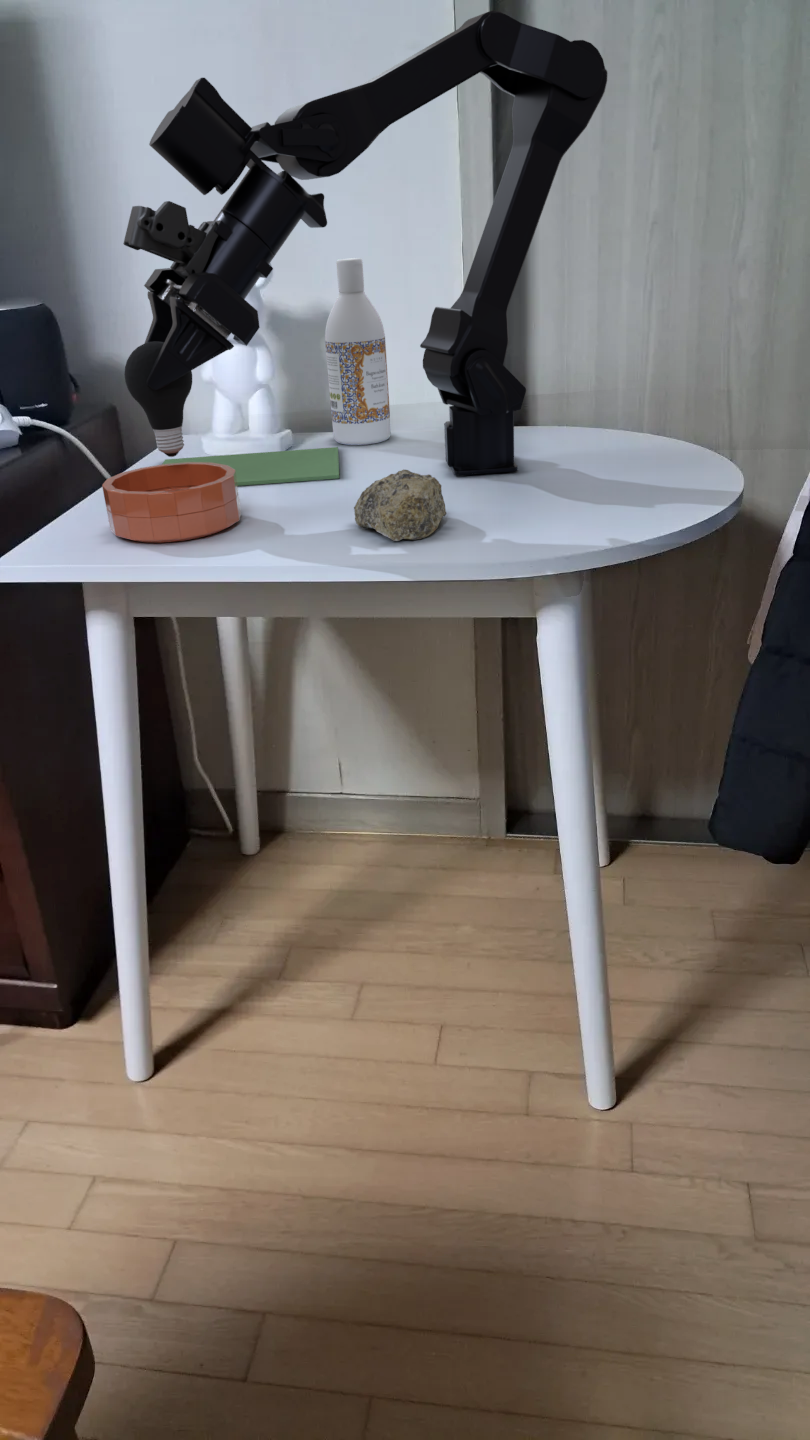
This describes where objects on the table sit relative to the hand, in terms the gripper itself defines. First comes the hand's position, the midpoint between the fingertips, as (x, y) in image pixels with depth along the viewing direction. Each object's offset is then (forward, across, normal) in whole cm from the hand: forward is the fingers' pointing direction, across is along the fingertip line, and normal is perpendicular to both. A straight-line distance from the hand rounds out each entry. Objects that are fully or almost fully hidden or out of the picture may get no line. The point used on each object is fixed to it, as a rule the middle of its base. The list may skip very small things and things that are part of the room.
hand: (144, 383), depth 91 cm
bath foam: (-11, -22, +29) cm, 38 cm away
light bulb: (+4, 0, +6) cm, 7 cm away
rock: (-3, +15, +21) cm, 26 cm away
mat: (0, -15, +17) cm, 23 cm away
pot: (+9, +3, +9) cm, 13 cm away
